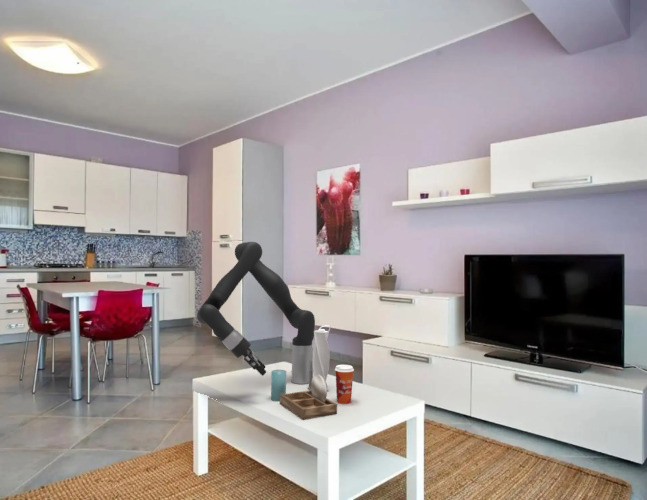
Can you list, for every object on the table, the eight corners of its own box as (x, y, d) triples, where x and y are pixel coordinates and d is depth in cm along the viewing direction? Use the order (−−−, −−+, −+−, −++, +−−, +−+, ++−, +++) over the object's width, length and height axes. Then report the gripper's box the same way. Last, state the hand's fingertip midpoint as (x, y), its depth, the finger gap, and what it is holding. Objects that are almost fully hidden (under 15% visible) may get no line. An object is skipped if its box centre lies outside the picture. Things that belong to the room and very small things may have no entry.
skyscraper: (325, 387, 198) (326, 324, 198) (332, 391, 190) (333, 326, 191) (307, 388, 194) (308, 324, 195) (314, 393, 187) (315, 327, 188)
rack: (311, 398, 180) (312, 369, 180) (336, 413, 163) (337, 380, 163) (279, 403, 173) (280, 372, 173) (302, 419, 156) (303, 385, 156)
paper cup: (340, 405, 172) (340, 369, 172) (330, 400, 179) (331, 365, 179) (357, 403, 175) (358, 367, 176) (347, 397, 182) (348, 363, 183)
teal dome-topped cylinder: (282, 395, 183) (282, 369, 184) (288, 399, 178) (288, 372, 178) (268, 397, 180) (269, 370, 181) (274, 401, 175) (275, 373, 176)
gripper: (242, 339, 171) (271, 368, 172) (243, 333, 185) (270, 360, 186) (228, 353, 170) (257, 382, 171) (230, 346, 184) (257, 373, 185)
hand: (264, 371), depth 179 cm, fingers open, 8 cm apart
